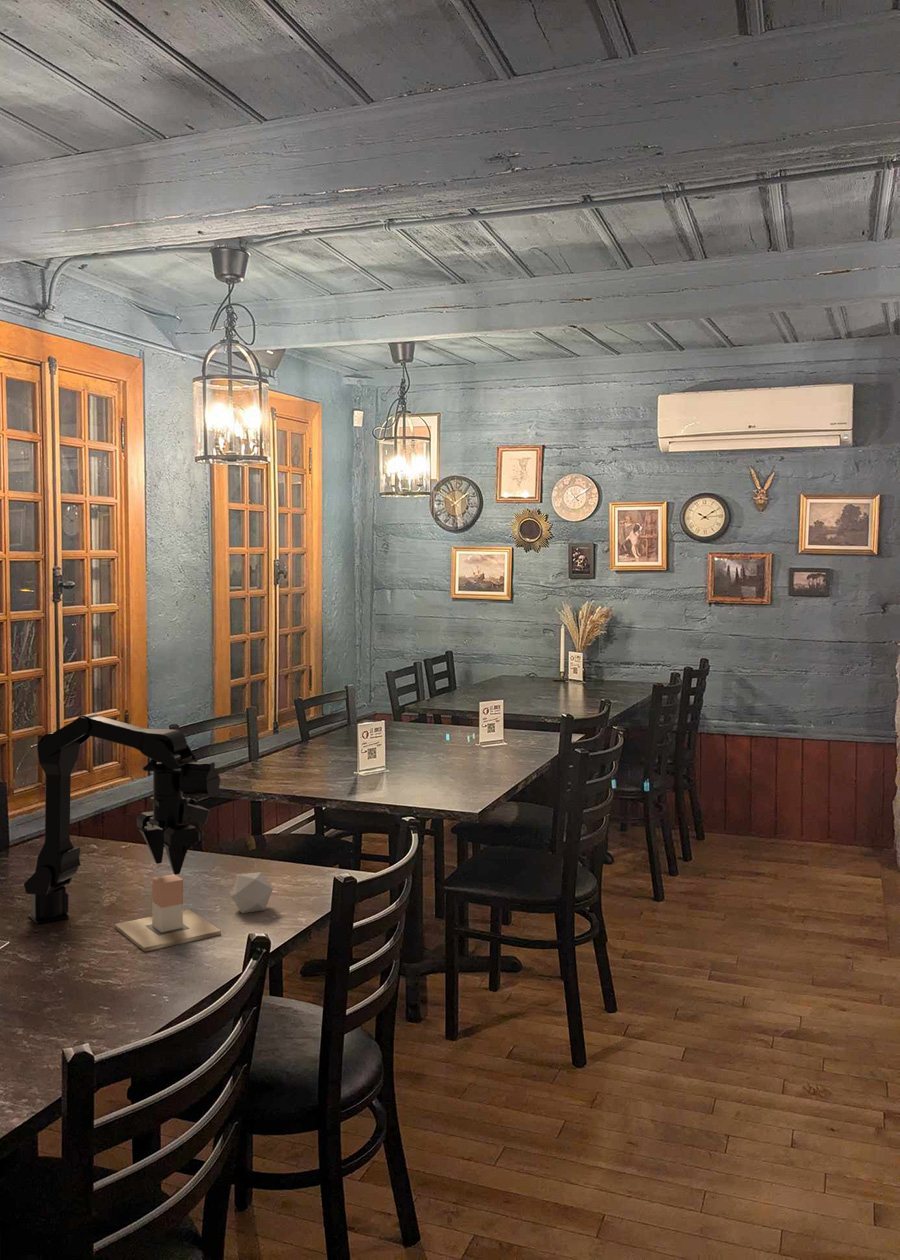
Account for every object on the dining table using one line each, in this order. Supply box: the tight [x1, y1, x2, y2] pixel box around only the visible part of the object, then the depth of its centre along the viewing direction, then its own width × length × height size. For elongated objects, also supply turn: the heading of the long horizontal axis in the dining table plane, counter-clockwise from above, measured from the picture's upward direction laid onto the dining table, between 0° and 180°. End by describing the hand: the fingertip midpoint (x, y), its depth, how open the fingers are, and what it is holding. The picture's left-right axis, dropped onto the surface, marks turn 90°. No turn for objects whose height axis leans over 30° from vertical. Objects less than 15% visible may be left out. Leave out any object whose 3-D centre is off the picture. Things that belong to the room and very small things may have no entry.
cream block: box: [151, 901, 184, 932], centre depth 206 cm, size 5×5×5 cm
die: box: [229, 871, 274, 914], centre depth 220 cm, size 8×9×10 cm
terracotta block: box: [152, 873, 184, 908], centre depth 206 cm, size 5×5×5 cm
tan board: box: [114, 908, 222, 952], centre depth 206 cm, size 16×16×1 cm
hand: (167, 868), depth 206 cm, fingers open, 9 cm apart
